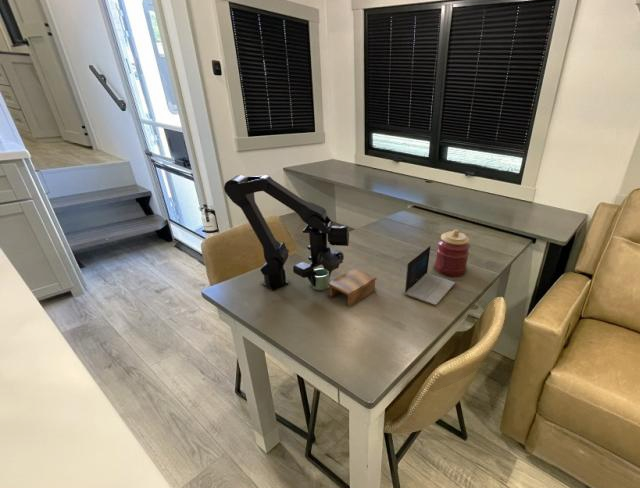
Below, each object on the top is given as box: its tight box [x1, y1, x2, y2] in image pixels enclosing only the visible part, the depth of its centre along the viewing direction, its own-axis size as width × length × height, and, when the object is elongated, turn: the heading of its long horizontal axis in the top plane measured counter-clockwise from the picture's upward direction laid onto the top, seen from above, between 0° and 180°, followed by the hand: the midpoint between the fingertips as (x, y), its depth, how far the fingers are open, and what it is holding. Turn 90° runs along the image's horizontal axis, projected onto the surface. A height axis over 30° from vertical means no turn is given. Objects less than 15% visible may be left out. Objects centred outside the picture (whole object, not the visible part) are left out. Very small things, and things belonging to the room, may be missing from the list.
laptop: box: [404, 245, 456, 306], centre depth 120 cm, size 18×12×13 cm
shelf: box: [328, 267, 377, 307], centre depth 116 cm, size 14×10×6 cm
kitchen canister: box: [434, 229, 471, 277], centre depth 134 cm, size 13×13×18 cm
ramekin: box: [311, 267, 331, 291], centre depth 119 cm, size 6×6×6 cm
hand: (320, 282), depth 120 cm, fingers closed on ramekin, 6 cm apart
